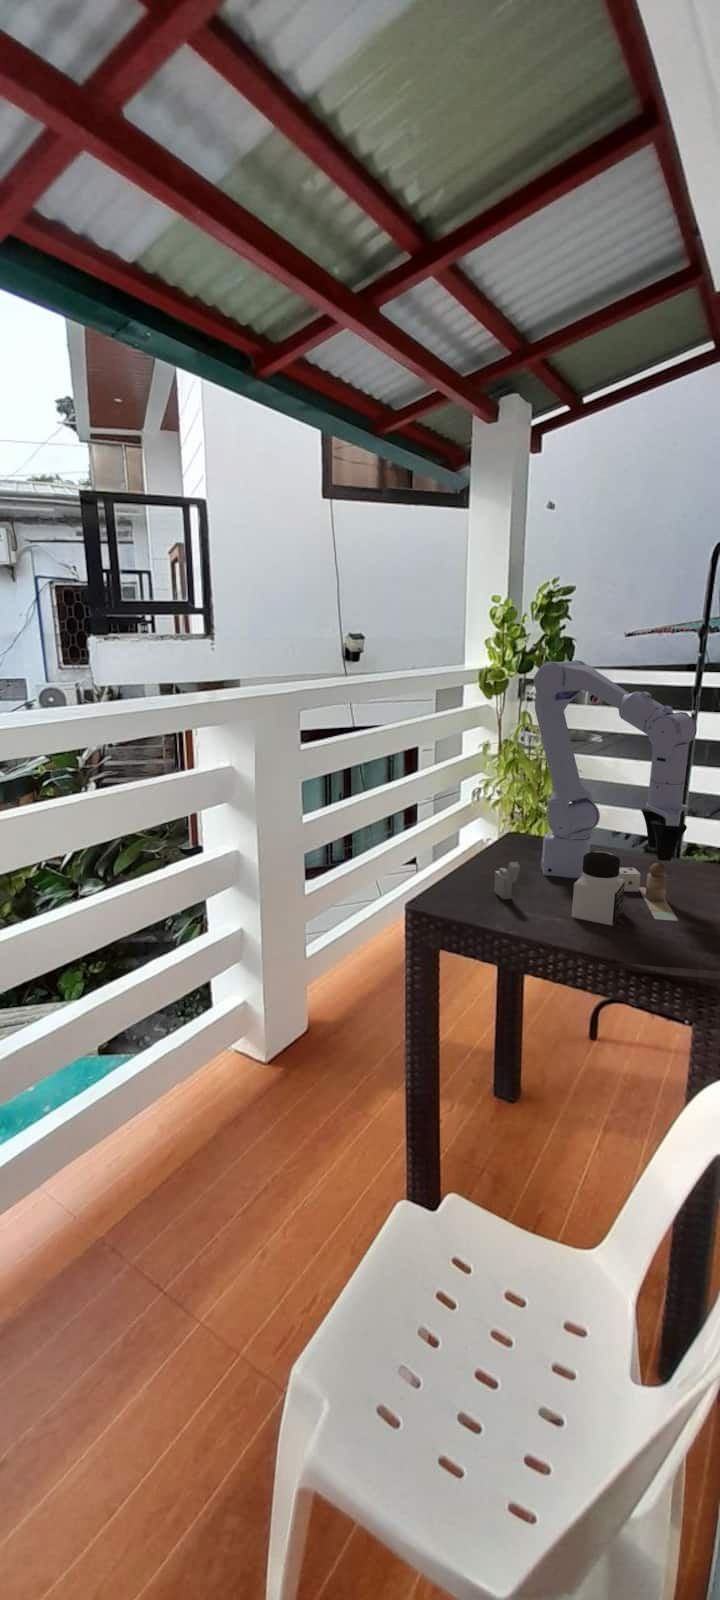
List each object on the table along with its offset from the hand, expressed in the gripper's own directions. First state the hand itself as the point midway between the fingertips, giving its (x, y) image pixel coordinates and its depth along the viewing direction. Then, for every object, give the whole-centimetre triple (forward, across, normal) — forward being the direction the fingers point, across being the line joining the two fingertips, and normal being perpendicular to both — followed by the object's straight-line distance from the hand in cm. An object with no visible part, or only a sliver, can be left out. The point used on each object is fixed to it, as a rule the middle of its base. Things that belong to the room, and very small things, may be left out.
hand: (659, 853), depth 128 cm
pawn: (+9, 0, 0) cm, 9 cm away
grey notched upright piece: (+10, -2, +27) cm, 29 cm away
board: (+10, -2, +2) cm, 10 cm away
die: (+9, +5, +4) cm, 11 cm away
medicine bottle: (+10, -10, +12) cm, 18 cm away
